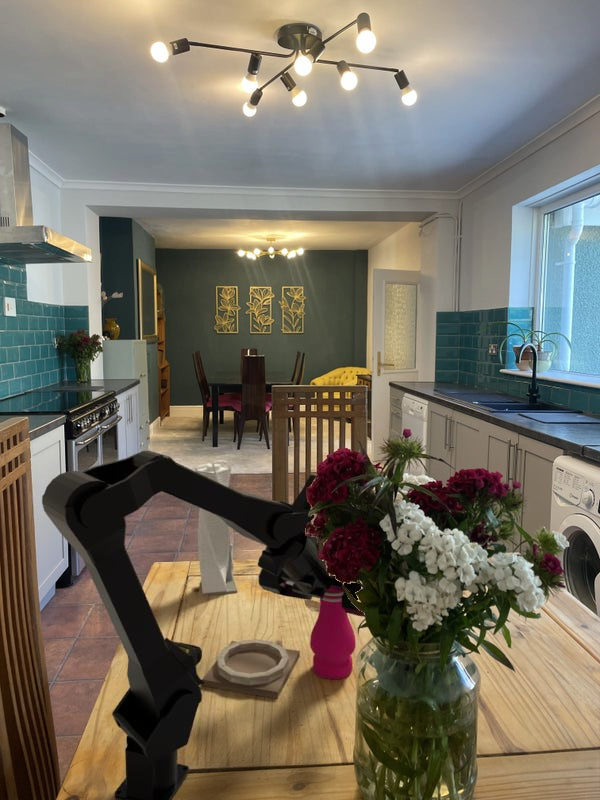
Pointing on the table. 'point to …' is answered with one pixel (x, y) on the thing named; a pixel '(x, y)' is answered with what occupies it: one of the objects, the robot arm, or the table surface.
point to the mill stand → (252, 668)
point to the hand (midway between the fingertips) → (336, 603)
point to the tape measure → (191, 651)
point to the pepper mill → (332, 638)
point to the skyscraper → (215, 541)
